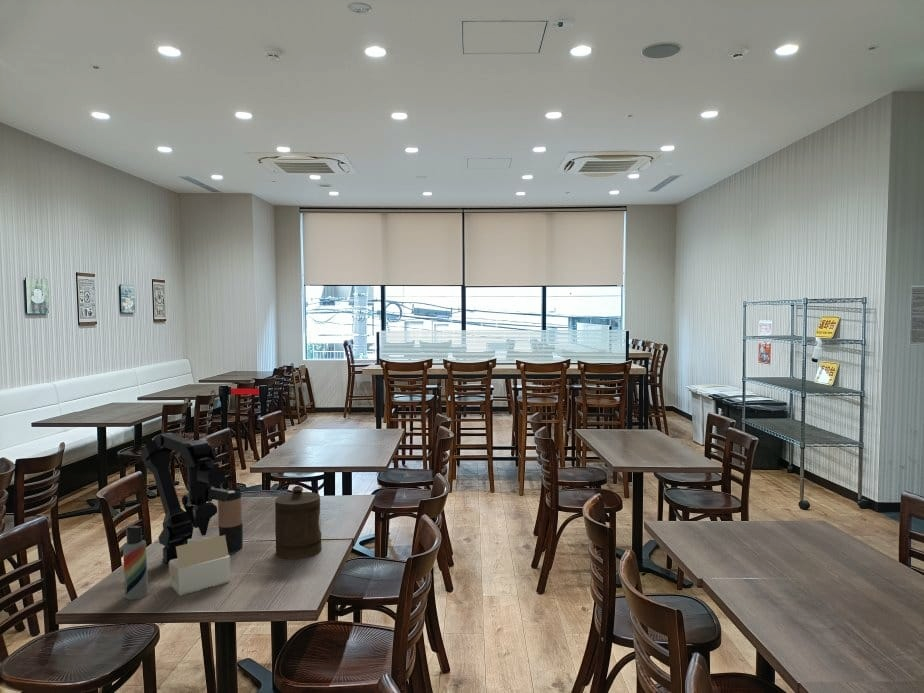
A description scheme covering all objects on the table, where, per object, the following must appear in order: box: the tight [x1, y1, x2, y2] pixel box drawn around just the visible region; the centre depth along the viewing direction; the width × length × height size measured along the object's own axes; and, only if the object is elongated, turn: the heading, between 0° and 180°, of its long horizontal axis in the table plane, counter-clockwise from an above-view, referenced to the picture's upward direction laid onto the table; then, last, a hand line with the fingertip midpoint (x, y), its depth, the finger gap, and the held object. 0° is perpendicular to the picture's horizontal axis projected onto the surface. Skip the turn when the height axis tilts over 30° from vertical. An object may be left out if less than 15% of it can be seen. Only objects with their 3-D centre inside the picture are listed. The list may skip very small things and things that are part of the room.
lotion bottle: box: [122, 525, 149, 601], centre depth 171 cm, size 6×6×20 cm
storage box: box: [168, 554, 231, 597], centre depth 178 cm, size 10×15×8 cm, turn 130°
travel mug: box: [217, 487, 244, 553], centre depth 206 cm, size 8×8×20 cm
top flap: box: [176, 535, 230, 568], centre depth 175 cm, size 6×14×1 cm
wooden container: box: [274, 485, 323, 560], centre depth 202 cm, size 15×15×22 cm
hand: (200, 531), depth 189 cm, fingers open, 9 cm apart
